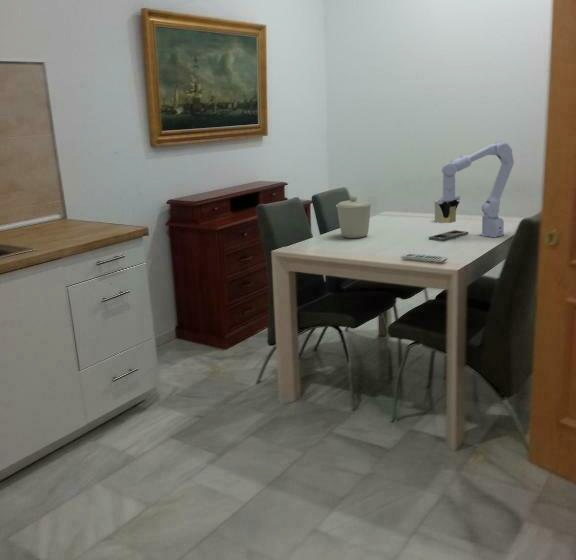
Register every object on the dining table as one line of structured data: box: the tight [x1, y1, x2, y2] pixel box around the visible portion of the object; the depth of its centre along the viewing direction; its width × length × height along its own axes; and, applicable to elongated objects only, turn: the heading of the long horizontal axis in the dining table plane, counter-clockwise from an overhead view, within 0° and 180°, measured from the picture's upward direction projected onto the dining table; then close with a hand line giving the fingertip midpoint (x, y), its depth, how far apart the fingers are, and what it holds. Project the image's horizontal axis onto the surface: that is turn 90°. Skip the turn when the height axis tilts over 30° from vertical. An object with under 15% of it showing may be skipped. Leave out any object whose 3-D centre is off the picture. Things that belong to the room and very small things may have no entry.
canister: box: [335, 194, 373, 239], centre depth 321 cm, size 18×18×21 cm
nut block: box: [442, 206, 457, 224], centre depth 306 cm, size 4×4×8 cm
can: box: [434, 199, 448, 224], centre depth 348 cm, size 9×9×12 cm
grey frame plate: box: [428, 229, 469, 242], centre depth 309 cm, size 8×20×1 cm, turn 129°
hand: (449, 216), depth 306 cm, fingers closed on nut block, 4 cm apart
